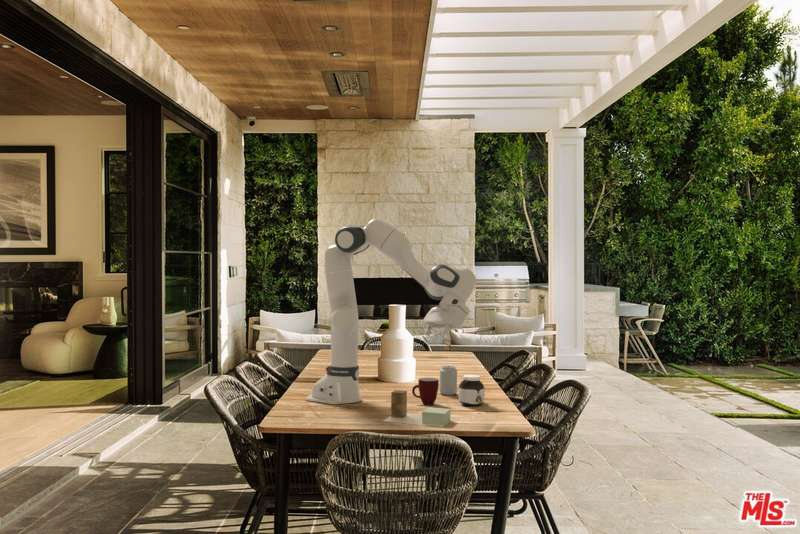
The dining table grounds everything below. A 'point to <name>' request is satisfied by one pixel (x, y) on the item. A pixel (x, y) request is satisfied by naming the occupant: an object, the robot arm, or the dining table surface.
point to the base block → (436, 416)
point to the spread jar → (471, 391)
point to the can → (448, 380)
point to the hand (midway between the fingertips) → (434, 335)
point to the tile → (411, 420)
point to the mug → (427, 390)
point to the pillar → (398, 404)
